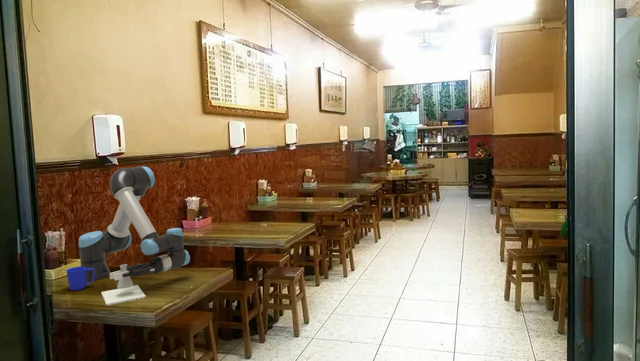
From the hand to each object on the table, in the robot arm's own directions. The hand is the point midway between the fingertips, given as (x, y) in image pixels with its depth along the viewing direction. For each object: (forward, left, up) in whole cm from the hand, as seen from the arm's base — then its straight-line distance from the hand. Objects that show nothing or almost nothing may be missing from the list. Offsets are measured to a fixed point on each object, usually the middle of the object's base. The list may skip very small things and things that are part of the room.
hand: (112, 276), depth 204 cm
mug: (-29, -11, -10) cm, 33 cm away
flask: (-2, +5, -6) cm, 8 cm away
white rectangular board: (-3, +4, -10) cm, 11 cm away
